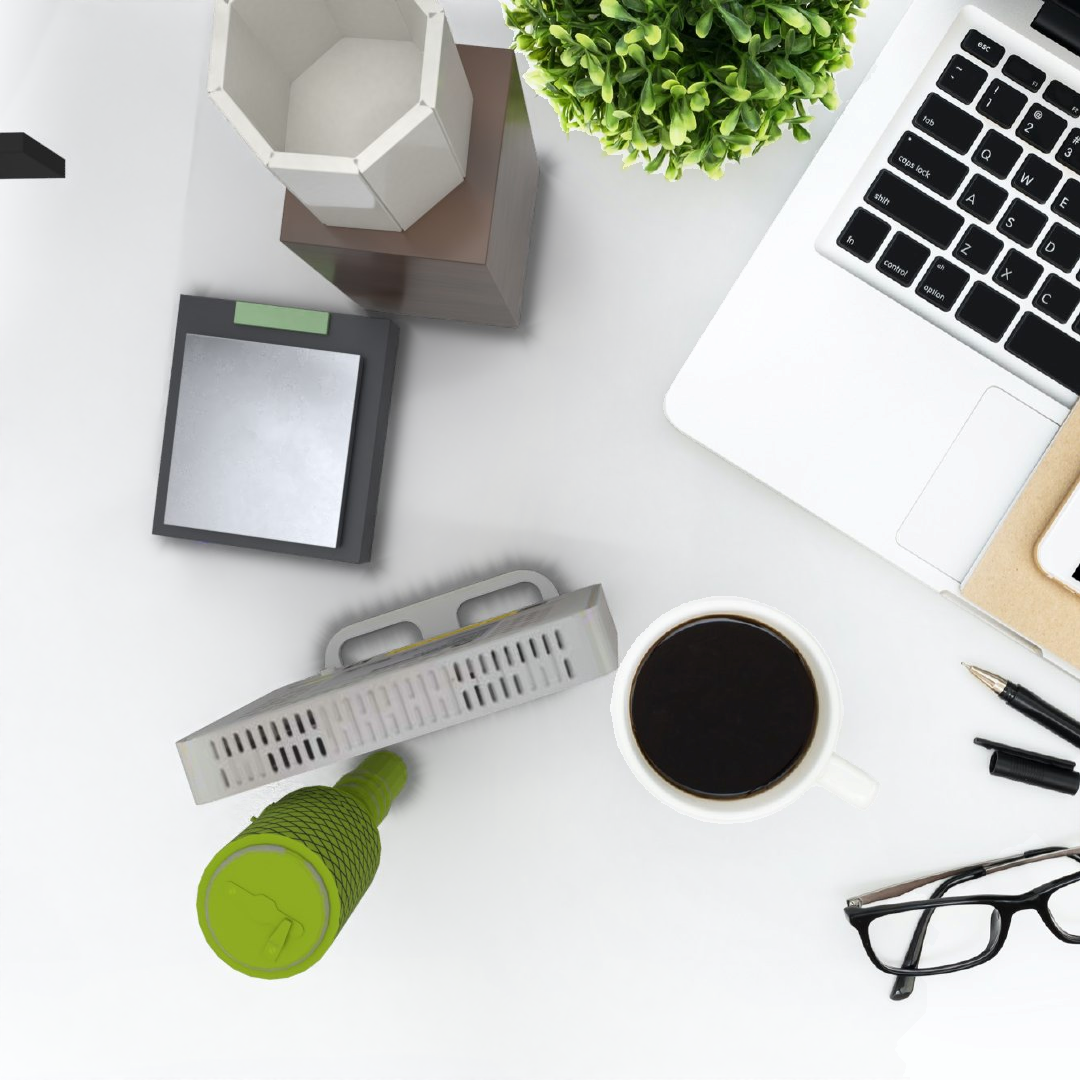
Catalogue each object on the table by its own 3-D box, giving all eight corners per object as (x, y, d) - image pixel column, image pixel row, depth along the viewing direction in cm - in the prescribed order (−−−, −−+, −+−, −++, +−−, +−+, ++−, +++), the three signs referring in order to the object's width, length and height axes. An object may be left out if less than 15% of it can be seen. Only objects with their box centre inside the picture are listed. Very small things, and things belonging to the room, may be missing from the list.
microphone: (450, 756, 71) (363, 887, 47) (402, 840, 72) (291, 1014, 47) (360, 703, 72) (226, 805, 47) (313, 787, 72) (156, 932, 47)
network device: (312, 755, 72) (198, 848, 52) (277, 649, 72) (148, 701, 52) (626, 655, 70) (631, 712, 50) (589, 545, 70) (580, 558, 50)
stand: (383, 151, 71) (305, 28, 53) (540, 168, 70) (514, 48, 52) (363, 309, 71) (278, 241, 53) (518, 328, 70) (485, 265, 52)
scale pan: (192, 335, 69) (186, 333, 68) (364, 357, 68) (360, 354, 67) (169, 523, 69) (163, 524, 68) (339, 548, 68) (335, 548, 67)
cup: (287, 25, 53) (220, -75, 44) (479, 38, 52) (451, -61, 43) (269, 221, 53) (199, 162, 44) (459, 237, 52) (427, 179, 43)
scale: (198, 302, 72) (177, 292, 69) (400, 327, 71) (389, 318, 67) (170, 533, 73) (148, 534, 69) (370, 562, 72) (358, 564, 68)
